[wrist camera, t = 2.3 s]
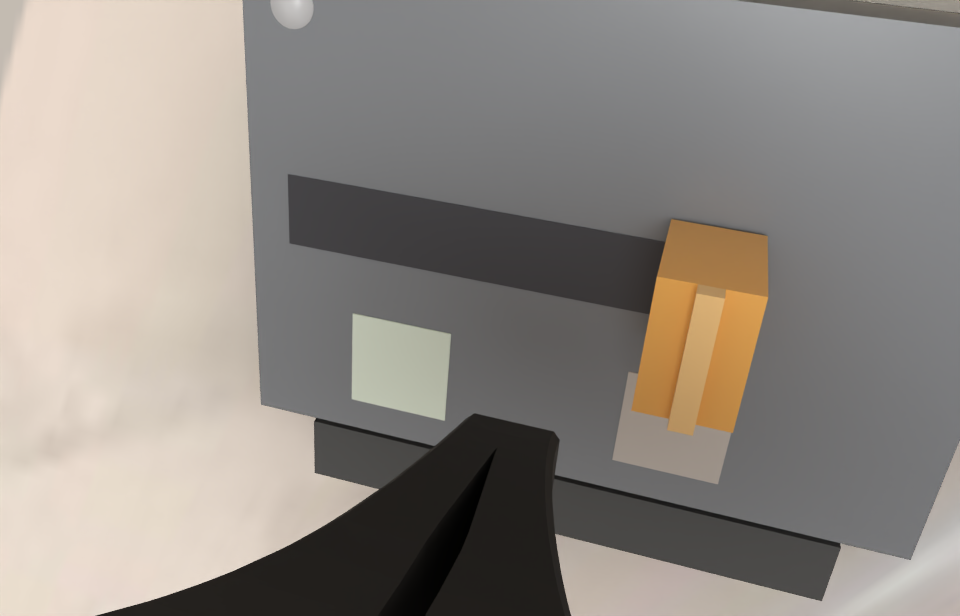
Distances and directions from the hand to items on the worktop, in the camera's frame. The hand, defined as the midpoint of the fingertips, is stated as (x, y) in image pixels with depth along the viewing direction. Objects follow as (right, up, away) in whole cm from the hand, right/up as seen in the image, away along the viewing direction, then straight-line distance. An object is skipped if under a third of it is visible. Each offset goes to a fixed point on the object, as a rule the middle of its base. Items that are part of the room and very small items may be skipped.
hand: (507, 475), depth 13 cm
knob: (+4, +3, +6) cm, 8 cm away
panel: (+3, +4, +9) cm, 10 cm away
